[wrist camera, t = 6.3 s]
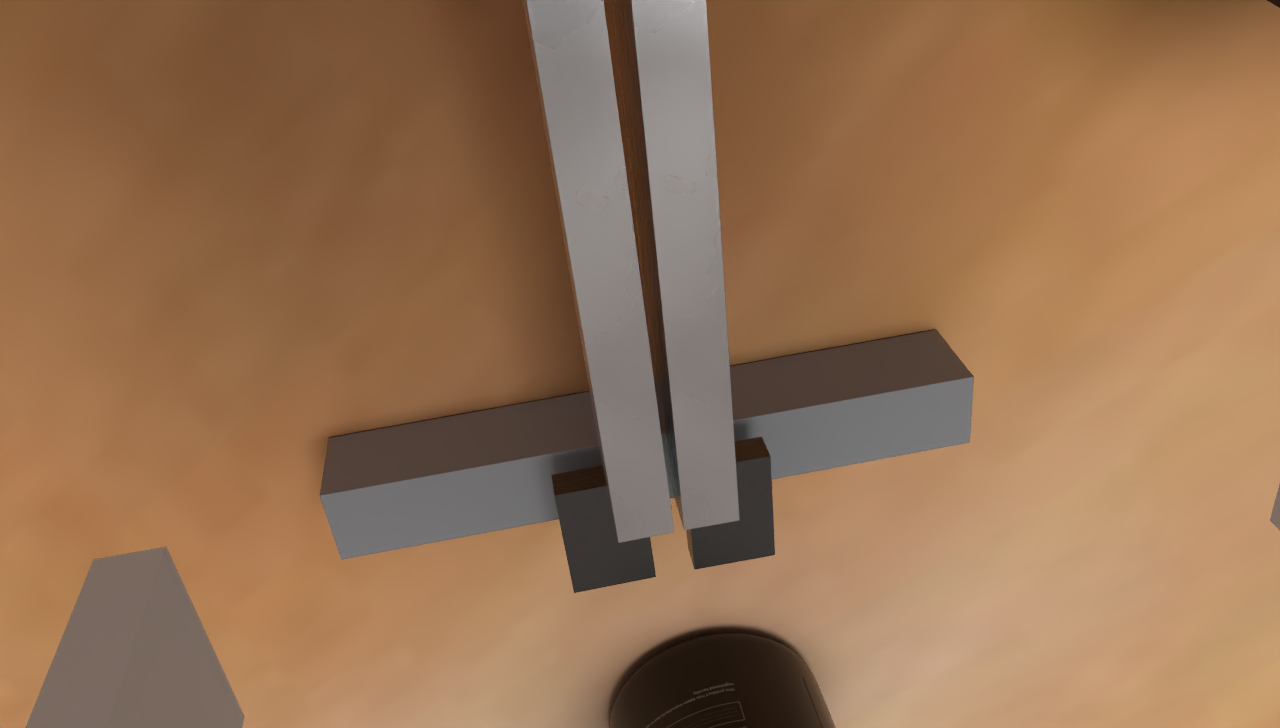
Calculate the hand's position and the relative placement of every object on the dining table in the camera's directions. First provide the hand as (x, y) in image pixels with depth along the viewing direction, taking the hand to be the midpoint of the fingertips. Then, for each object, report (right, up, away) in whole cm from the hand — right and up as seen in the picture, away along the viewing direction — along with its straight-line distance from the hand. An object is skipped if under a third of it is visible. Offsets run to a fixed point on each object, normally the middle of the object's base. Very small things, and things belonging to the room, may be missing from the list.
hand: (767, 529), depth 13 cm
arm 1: (-3, +5, +9) cm, 11 cm away
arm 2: (-1, +6, +10) cm, 11 cm away
